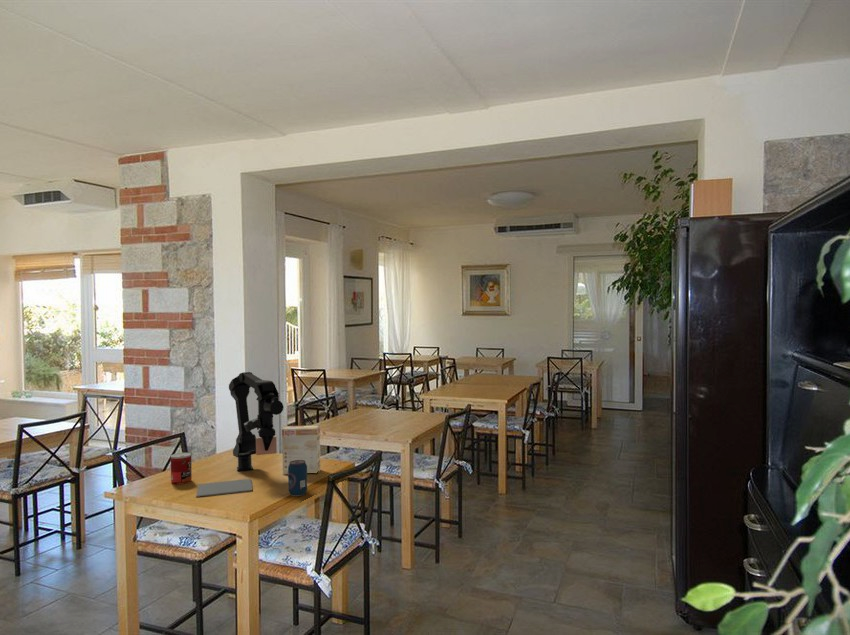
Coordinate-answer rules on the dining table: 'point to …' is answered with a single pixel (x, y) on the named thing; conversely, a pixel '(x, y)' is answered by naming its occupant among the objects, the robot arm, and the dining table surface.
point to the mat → (224, 487)
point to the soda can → (297, 478)
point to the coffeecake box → (301, 446)
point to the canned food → (181, 468)
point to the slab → (261, 450)
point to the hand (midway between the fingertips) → (266, 449)
